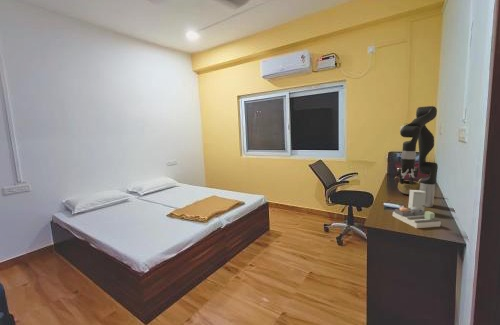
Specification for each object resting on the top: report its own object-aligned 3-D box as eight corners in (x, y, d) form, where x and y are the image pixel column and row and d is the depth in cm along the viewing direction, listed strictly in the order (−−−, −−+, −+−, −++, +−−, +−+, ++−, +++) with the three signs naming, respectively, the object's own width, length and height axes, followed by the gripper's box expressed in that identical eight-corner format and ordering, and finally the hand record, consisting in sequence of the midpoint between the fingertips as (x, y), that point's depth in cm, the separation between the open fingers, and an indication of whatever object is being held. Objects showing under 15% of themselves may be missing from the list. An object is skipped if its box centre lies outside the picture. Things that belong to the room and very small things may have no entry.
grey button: (408, 210, 161) (408, 206, 161) (415, 209, 162) (415, 206, 162) (414, 212, 156) (414, 209, 156) (421, 212, 157) (422, 208, 157)
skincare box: (411, 212, 170) (413, 191, 168) (407, 209, 176) (409, 189, 173) (424, 212, 169) (426, 192, 166) (419, 209, 174) (421, 189, 172)
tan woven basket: (422, 193, 215) (424, 177, 213) (424, 198, 201) (425, 180, 199) (393, 190, 227) (394, 174, 225) (393, 194, 213) (394, 178, 210)
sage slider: (424, 218, 150) (424, 211, 150) (428, 217, 151) (429, 211, 150) (429, 220, 146) (430, 213, 146) (434, 220, 147) (434, 213, 146)
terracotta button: (397, 210, 160) (397, 207, 160) (404, 210, 161) (404, 207, 161) (403, 213, 155) (403, 210, 155) (410, 213, 156) (410, 209, 156)
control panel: (392, 216, 163) (393, 208, 162) (413, 214, 165) (414, 207, 165) (416, 228, 144) (417, 219, 143) (440, 226, 146) (441, 217, 145)
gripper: (413, 156, 158) (411, 181, 160) (393, 157, 156) (392, 182, 158) (423, 158, 150) (421, 184, 153) (402, 159, 148) (400, 185, 151)
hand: (406, 183), depth 155 cm, fingers open, 6 cm apart
